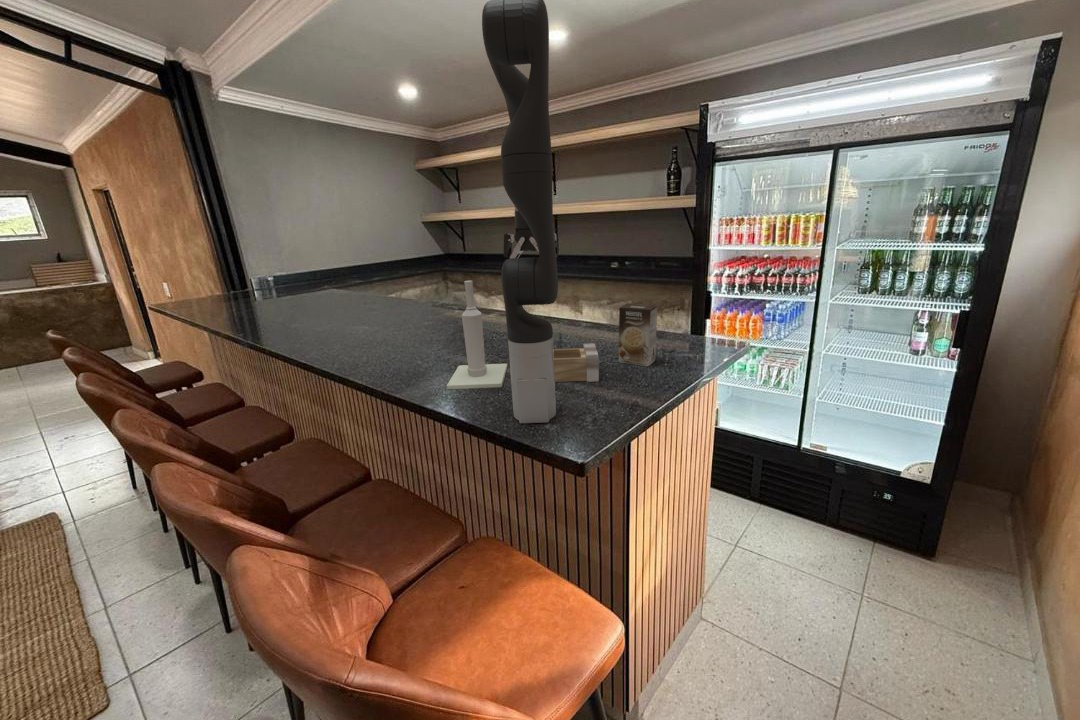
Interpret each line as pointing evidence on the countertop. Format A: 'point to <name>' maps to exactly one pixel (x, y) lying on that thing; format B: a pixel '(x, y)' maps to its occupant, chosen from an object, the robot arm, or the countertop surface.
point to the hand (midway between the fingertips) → (530, 274)
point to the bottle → (473, 335)
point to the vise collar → (576, 364)
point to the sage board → (489, 380)
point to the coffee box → (637, 334)
